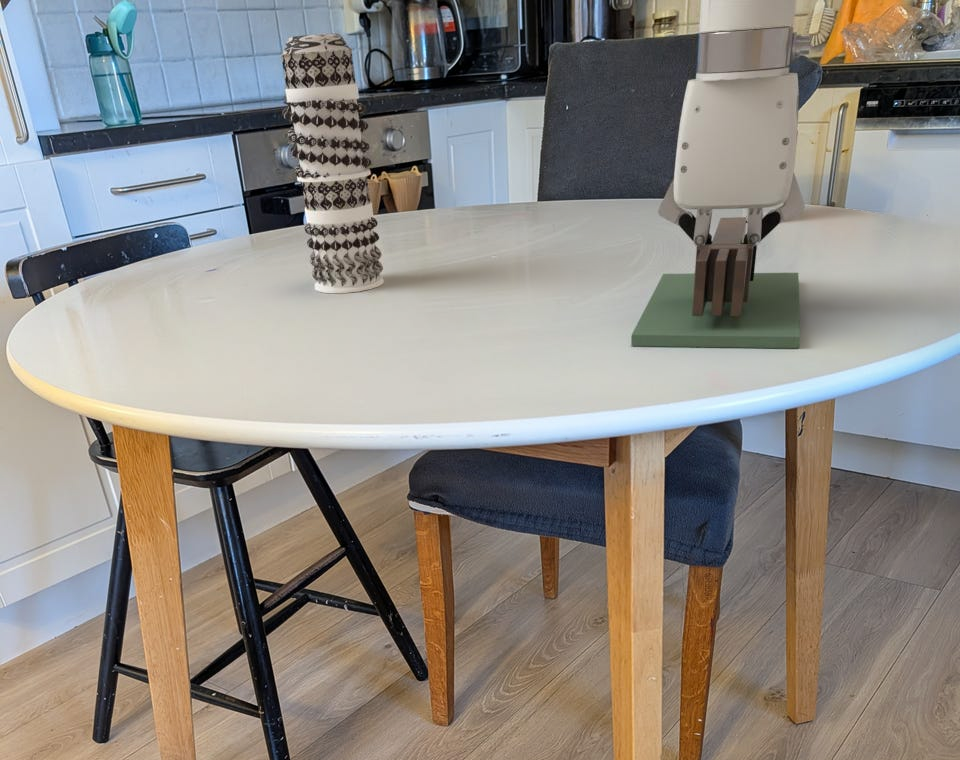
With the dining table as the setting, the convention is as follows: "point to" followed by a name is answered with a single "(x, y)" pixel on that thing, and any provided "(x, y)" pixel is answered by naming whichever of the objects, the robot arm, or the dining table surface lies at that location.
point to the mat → (759, 326)
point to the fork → (723, 269)
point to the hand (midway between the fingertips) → (723, 287)
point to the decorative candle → (331, 162)
